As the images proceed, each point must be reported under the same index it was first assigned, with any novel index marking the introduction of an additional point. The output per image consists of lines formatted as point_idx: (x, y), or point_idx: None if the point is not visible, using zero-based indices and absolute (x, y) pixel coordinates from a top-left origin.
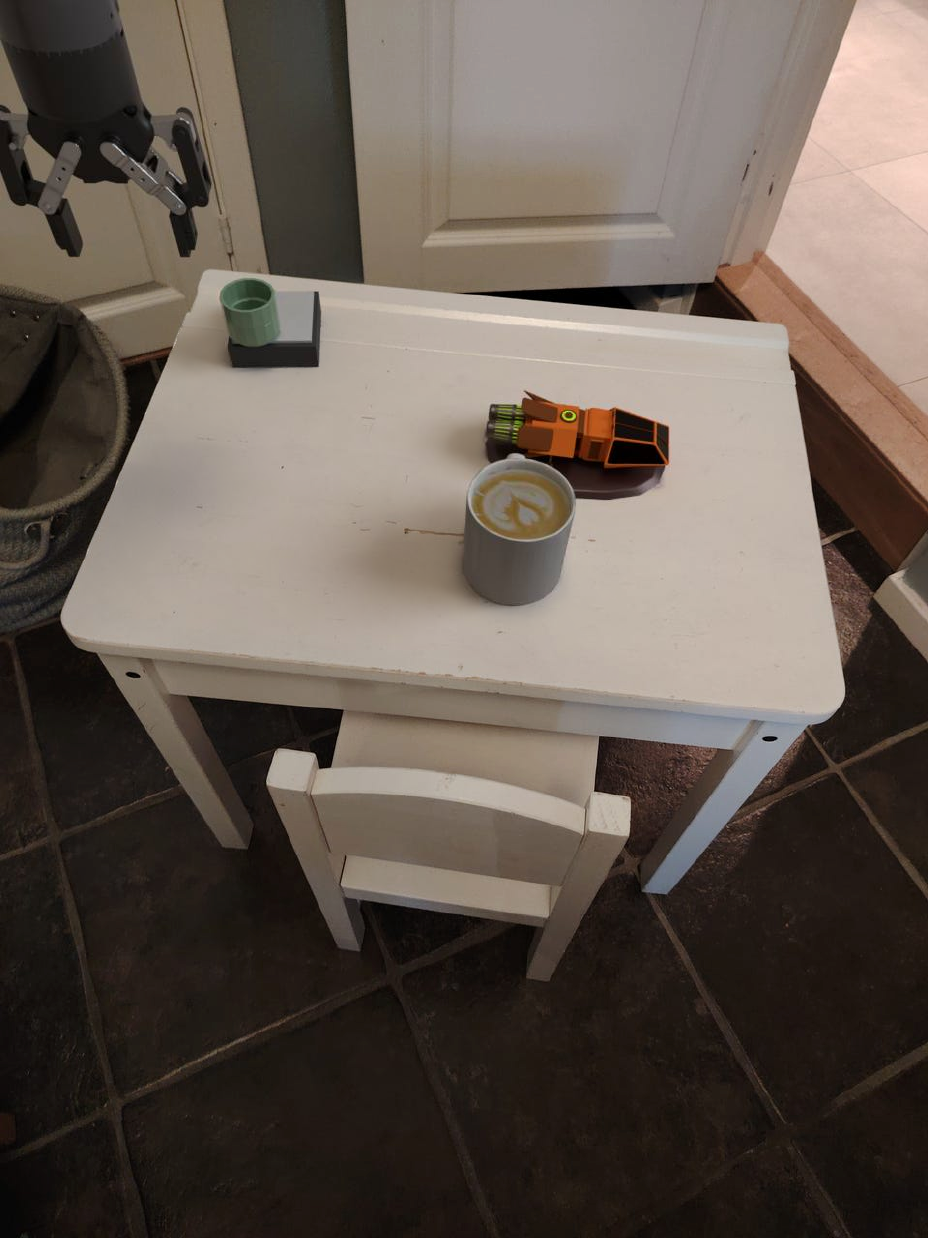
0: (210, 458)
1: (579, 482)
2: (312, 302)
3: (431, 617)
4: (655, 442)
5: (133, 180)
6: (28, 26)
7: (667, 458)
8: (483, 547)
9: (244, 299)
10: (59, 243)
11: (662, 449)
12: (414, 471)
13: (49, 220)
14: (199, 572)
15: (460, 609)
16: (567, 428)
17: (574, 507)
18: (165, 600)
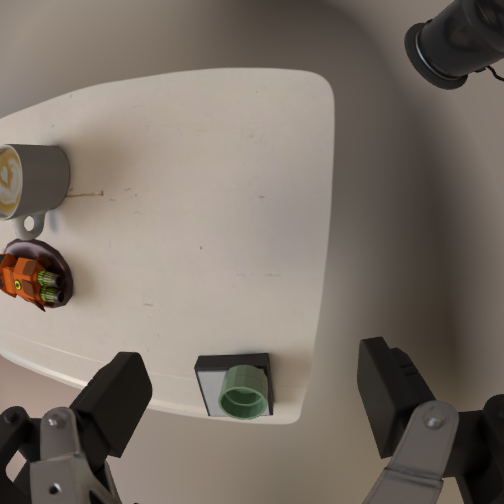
0: (264, 253)
1: (25, 248)
2: (208, 406)
3: (83, 124)
4: None
5: (80, 499)
6: None
7: None
8: (28, 148)
9: (252, 404)
10: (401, 356)
11: None
12: (106, 252)
13: (425, 392)
14: (246, 129)
15: (69, 135)
16: (16, 274)
17: None
18: (266, 101)
